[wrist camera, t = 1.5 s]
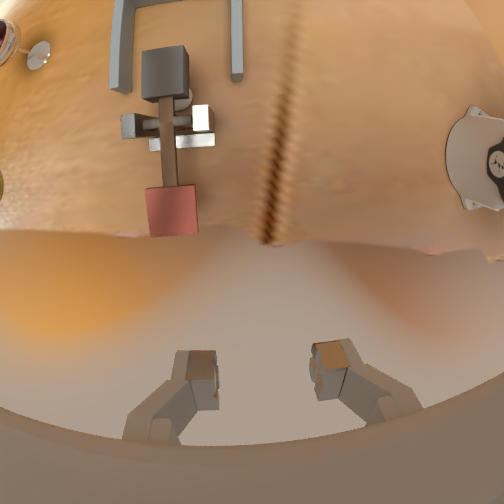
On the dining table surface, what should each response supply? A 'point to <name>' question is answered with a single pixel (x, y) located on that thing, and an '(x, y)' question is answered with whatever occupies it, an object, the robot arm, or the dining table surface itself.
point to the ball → (183, 102)
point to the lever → (168, 141)
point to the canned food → (1, 186)
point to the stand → (201, 123)
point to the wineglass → (7, 44)
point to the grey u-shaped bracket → (124, 42)
